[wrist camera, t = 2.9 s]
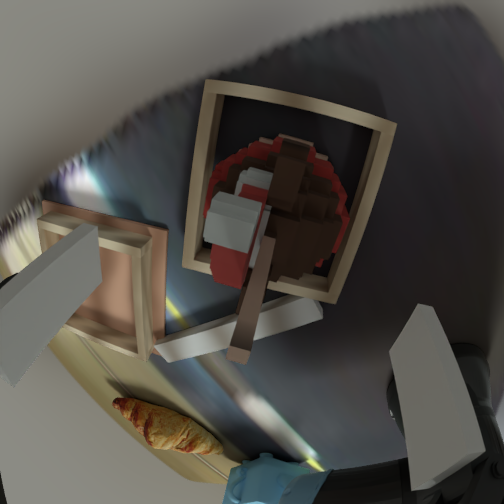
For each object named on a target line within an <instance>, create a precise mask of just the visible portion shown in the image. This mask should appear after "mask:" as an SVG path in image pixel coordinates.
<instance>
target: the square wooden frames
mask: <svg viewBox="0 0 504 504" xmlns="http://www.w3.org/2000/svg"><path fill="white" fill-rule="evenodd" d="M225 95H231V96H238V97H244V98H250V99H256V100H261V101H266V102H272V103H277V104H281V105H286V106H291V107H295V108H299V109H304V110H308V111H312V112H316V113H320V114H324V115H327V116H331V117H335V118H338V119H342V120H345V121H349V122H352V123H355V124H358V125H362V126H365V127H368V128H371V129H374V130H373V134H372V137H371V141H370V145H369V149H368V152H367V156H366V159H365V163H364V166H363V170H362V173H361V177H360V180H359V184H358V187H357V190H356V193H355V197H354V200H353V203H352V206H351V209H350V213H349V217H350V220H349V223H348V225H347V228H346V230H345V233H344V235H343V238H342V240H341V243H340V245H339V248H338V250H337V253H336V254H335V257H334V260H333V263H332V265H331V268H330V271H329V274H328V276H327V278H326V277H322V276H318V275H314V274H312V275H310V274H307V273H303V275H302V277H300V278H299V280H296V279H292V278H289V277H285V276H282V275H281V277H279V280H277V283H275V282H272V281H269V283H268V286H267V289H271V290H275V291H280V292H284V293H288V294H289V295H286V296H283V297H280V298H277V299H275V300H272V301H269V302H266V303H263V304H262V306H261V309H260V313H259V318H258V322H257V326H256V331H255V335H254V339H253V341H254V340H257V339H260V338H264V337H267V336H270V335H274V334H277V333H280V332H283V331H287V330H290V329H293V328H296V327H299V326H302V325H305V324H308V323H311V322H314V321H317V320H320V319H323V309H322V307H321V305H320V303H319V301H322V302H327V303H331V304H336V302H337V299H338V297H339V295H340V292H341V290H342V287H343V285H344V282H345V280H346V277H347V275H348V272H349V270H350V267H351V265H352V262H353V260H354V257H355V254H356V252H357V249H358V246H359V244H360V241H361V238H362V236H363V233H364V230H365V227H366V224H367V222H368V219H369V216H370V213H371V210H372V207H373V204H374V201H375V198H376V195H377V192H378V189H379V185H380V182H381V179H382V176H383V172H384V169H385V166H386V162H387V159H388V155H389V152H390V148H391V145H392V141H393V137H394V134H395V130H396V126H397V123H394V122H391V121H389V120H386V119H383V118H380V117H377V116H374V115H371V114H368V113H365V112H362V111H359V110H355V109H352V108H349V107H345V106H342V105H338V104H335V103H331V102H327V101H324V100H320V99H316V98H312V97H308V96H303V95H299V94H295V93H290V92H285V91H281V90H276V89H270V88H265V87H259V86H254V85H247V84H241V83H234V82H227V81H219V80H210V79H206V81H205V86H204V92H203V98H202V104H201V110H200V116H199V122H198V129H197V136H196V142H195V150H194V157H193V164H192V172H191V180H190V189H189V198H188V207H187V216H186V227H185V238H184V249H183V262H182V267H185V268H188V269H192V270H196V271H200V272H204V273H207V274H211V272H212V271H211V269H209V268H210V263H211V259H210V255H211V249H207V248H203V247H202V244H203V233H204V227H205V220H206V218H203V217H204V215H203V211H204V206H205V200H206V195H207V190H208V184H209V179H210V177H211V175H212V170H213V163H214V157H215V150H216V144H217V138H218V132H219V126H220V120H221V114H222V109H223V103H224V98H225ZM42 206H43V216H41V217H40V218H38V219H37V224H38V231H39V238H40V244H41V250H42V254H43V253H44V252H45V251H46V250H48V249H49V248H50V247H51V246H53V245H54V244H55V243H57V242H58V241H59V240H61V239H62V238H63V237H65V236H66V235H67V234H69V233H70V232H71V231H73V230H74V229H76V228H77V227H78V226H80V225H81V224H83V223H86V224H90V225H94V226H98V240H99V253H100V263H101V273H102V282H101V283H100V284H99V286H98V287H97V288H96V289H95V290H94V291H93V292H92V293H91V294H90V295H89V297H88V298H87V299H86V300H85V301H84V302H83V303H82V304H81V305H80V307H79V308H78V309H77V310H76V311H75V312H74V313H73V315H72V316H71V317H70V318H69V319H68V320H67V322H66V323H65V324H64V325H63V326H62V327H63V328H65V329H67V330H69V331H71V332H74V333H76V334H78V335H80V336H82V337H85V338H87V339H89V340H92V341H94V342H96V343H99V344H101V345H103V346H106V347H108V348H111V349H113V350H116V351H118V352H121V353H123V354H126V355H129V356H131V357H134V358H137V359H139V360H142V361H145V362H147V360H148V358H149V356H150V354H151V353H154V354H157V355H160V356H163V357H164V359H165V360H166V361H167V362H173V361H177V360H181V359H186V358H190V357H194V356H198V355H202V354H206V353H210V352H214V351H217V350H221V349H225V348H229V345H230V342H231V338H232V335H233V332H234V329H235V326H236V322H237V319H238V316H239V315H236V313H235V314H232V315H229V316H226V317H223V318H220V319H217V320H214V321H210V322H207V323H204V324H201V325H198V326H195V327H192V328H189V329H186V330H182V331H179V332H176V333H173V334H169V335H166V336H165V311H166V269H167V247H168V229H164V228H160V227H156V226H152V225H148V224H143V223H139V222H135V221H131V220H127V219H123V218H119V217H114V216H110V215H106V214H102V213H98V212H93V211H89V210H85V209H81V208H77V207H73V206H68V205H64V204H60V203H56V202H52V201H47V200H43V201H42ZM211 275H212V274H211Z"/></svg>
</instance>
